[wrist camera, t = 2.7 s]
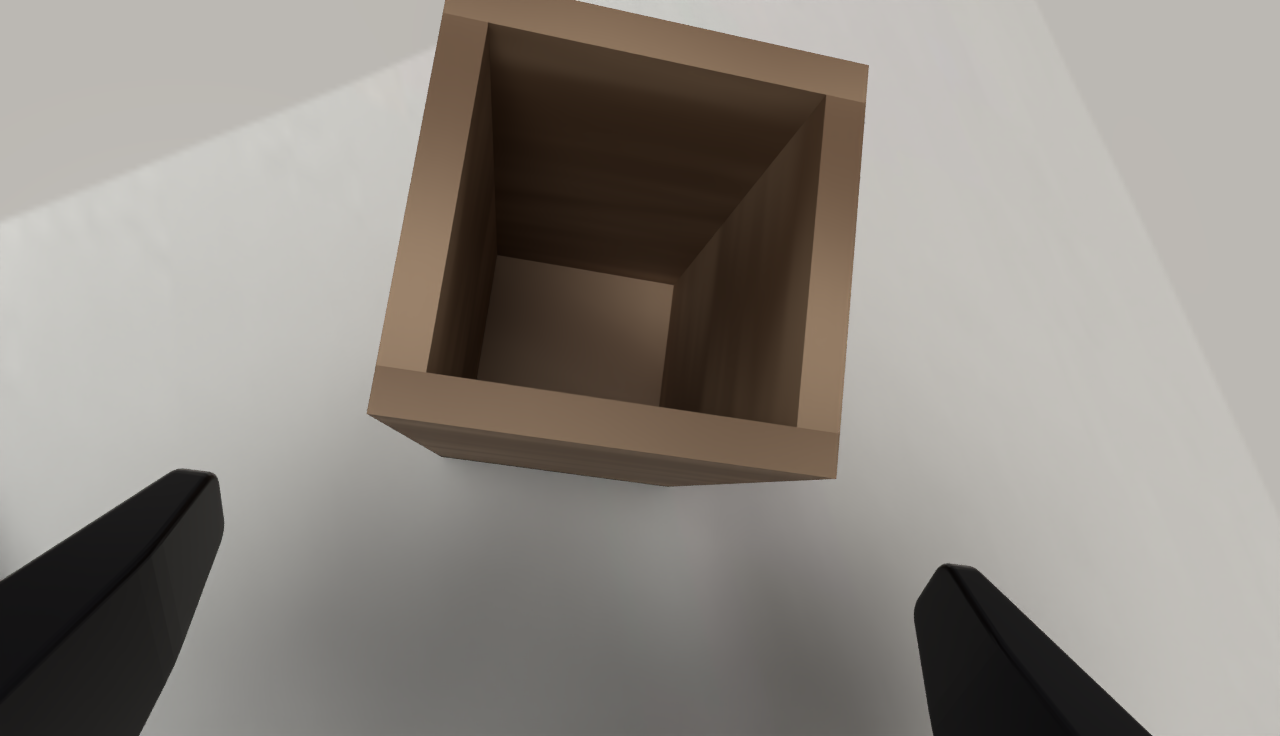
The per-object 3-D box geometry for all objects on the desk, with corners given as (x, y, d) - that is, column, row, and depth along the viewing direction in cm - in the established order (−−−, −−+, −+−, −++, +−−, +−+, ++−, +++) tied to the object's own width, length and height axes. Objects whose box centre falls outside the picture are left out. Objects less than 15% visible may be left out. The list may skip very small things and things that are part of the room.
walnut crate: (667, 486, 21) (836, 478, 10) (441, 456, 20) (366, 413, 9) (692, 273, 22) (869, 65, 11) (478, 236, 21) (450, -27, 10)
